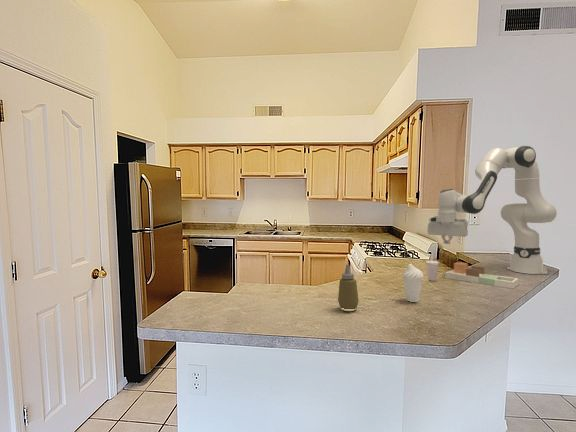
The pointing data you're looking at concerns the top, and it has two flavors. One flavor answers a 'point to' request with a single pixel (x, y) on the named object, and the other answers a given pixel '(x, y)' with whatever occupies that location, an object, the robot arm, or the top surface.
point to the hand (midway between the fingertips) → (446, 243)
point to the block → (460, 267)
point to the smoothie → (432, 269)
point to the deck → (483, 277)
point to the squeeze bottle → (348, 290)
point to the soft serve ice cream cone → (412, 283)
